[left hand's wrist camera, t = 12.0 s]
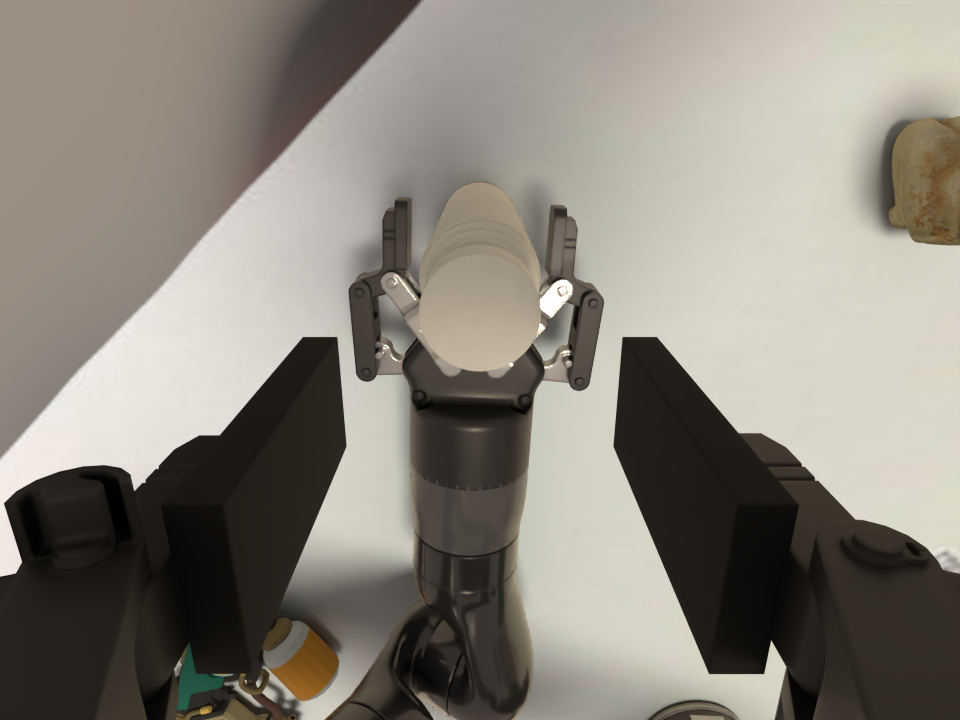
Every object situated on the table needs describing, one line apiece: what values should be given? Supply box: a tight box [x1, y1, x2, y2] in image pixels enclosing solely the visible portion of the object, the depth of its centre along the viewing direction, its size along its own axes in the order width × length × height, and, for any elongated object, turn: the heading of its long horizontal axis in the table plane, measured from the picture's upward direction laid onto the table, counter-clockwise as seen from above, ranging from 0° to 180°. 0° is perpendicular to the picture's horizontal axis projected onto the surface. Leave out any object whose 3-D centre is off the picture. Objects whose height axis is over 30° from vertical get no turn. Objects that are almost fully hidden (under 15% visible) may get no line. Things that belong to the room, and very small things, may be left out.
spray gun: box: [176, 617, 339, 720], centre depth 52 cm, size 4×17×15 cm
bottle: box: [419, 182, 541, 294], centre depth 31 cm, size 5×5×22 cm
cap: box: [419, 244, 541, 371], centre depth 21 cm, size 4×4×2 cm
